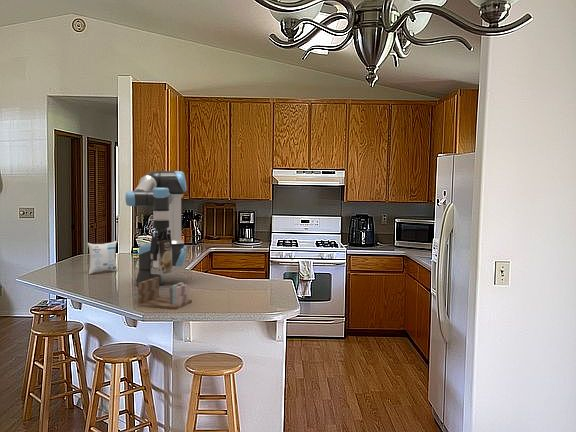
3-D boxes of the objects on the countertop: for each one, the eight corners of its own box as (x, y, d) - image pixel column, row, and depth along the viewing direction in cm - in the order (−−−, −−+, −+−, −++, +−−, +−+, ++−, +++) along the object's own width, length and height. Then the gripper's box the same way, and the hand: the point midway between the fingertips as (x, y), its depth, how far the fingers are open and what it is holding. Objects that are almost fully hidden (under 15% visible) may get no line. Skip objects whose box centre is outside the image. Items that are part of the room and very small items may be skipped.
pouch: (120, 272, 351) (119, 241, 349) (89, 275, 339) (89, 243, 337) (115, 270, 357) (115, 239, 355) (85, 273, 345) (85, 242, 344)
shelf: (156, 298, 278) (156, 277, 277) (191, 302, 272) (191, 279, 271) (138, 306, 263) (138, 282, 262) (175, 309, 257) (175, 285, 256)
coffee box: (161, 275, 261) (161, 241, 260) (150, 274, 263) (150, 240, 262) (172, 272, 269) (172, 239, 268) (161, 271, 272) (161, 238, 271)
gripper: (166, 217, 276) (166, 262, 278) (141, 221, 255) (142, 268, 257) (179, 218, 274) (179, 263, 275) (155, 221, 253) (156, 269, 255)
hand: (161, 265), depth 266 cm, fingers closed on coffee box, 9 cm apart
